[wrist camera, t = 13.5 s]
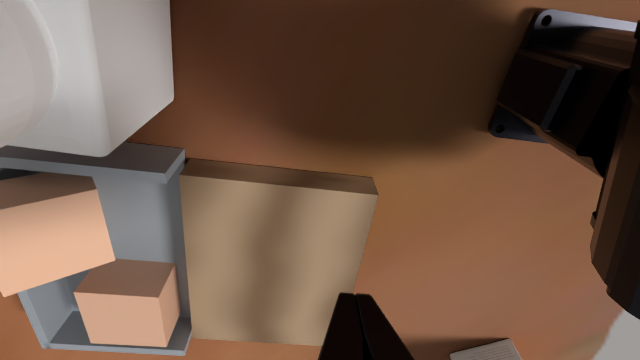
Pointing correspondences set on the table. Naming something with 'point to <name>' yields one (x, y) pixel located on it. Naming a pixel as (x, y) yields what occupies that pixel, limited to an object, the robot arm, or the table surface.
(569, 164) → the table surface
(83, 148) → the medicine bottle
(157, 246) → the tray
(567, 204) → the table surface
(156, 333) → the peach square block
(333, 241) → the board
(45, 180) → the tile
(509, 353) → the small box
